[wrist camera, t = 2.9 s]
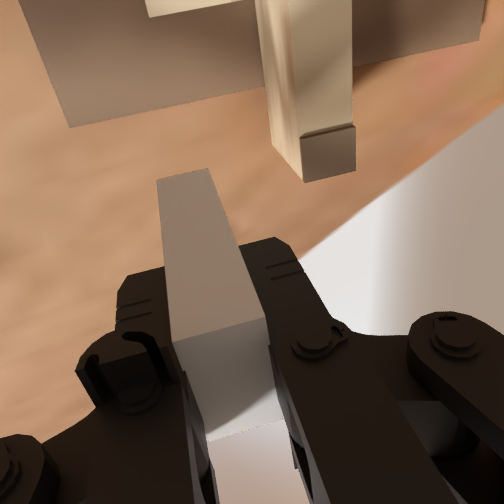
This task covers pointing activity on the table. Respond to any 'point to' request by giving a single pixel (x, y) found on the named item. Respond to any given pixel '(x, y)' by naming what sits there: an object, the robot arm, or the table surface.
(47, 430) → the table surface
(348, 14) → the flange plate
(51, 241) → the table surface
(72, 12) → the post board
